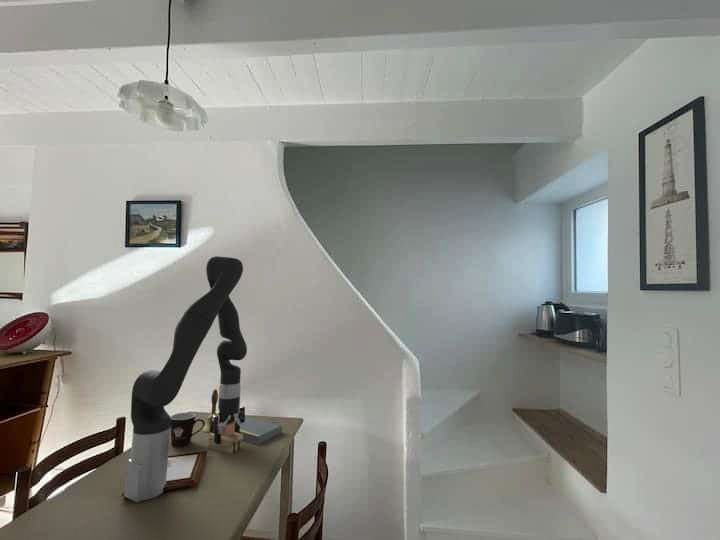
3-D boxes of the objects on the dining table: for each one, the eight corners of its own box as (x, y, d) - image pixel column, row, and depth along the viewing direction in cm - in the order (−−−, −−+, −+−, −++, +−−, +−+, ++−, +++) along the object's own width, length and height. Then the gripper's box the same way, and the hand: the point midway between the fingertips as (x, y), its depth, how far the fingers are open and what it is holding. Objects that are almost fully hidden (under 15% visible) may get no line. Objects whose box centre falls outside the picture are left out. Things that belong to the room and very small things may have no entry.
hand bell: (202, 426, 150) (205, 387, 151) (223, 424, 152) (226, 387, 154) (200, 433, 142) (203, 392, 143) (222, 431, 144) (224, 392, 146)
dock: (257, 444, 133) (257, 436, 133) (223, 434, 141) (224, 426, 141) (281, 433, 145) (282, 425, 145) (249, 424, 154) (250, 417, 154)
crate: (225, 436, 127) (226, 425, 128) (218, 434, 129) (218, 423, 129) (234, 433, 131) (235, 422, 131) (226, 431, 133) (227, 420, 133)
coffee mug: (162, 446, 129) (164, 417, 130) (181, 437, 137) (183, 411, 138) (187, 451, 125) (189, 422, 126) (205, 442, 133) (207, 415, 134)
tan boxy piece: (229, 454, 124) (230, 440, 125) (208, 447, 129) (209, 433, 130) (242, 448, 130) (243, 434, 130) (221, 442, 135) (222, 428, 135)
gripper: (220, 401, 123) (218, 449, 122) (251, 392, 136) (249, 435, 134) (206, 398, 127) (203, 444, 125) (237, 389, 139) (234, 431, 138)
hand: (227, 439), depth 130 cm, fingers open, 8 cm apart
